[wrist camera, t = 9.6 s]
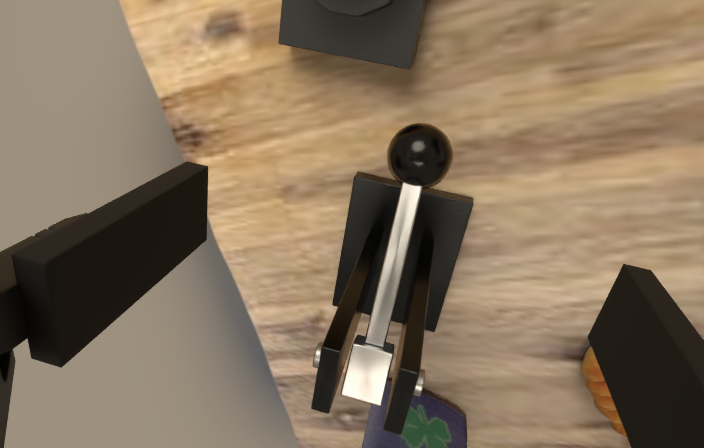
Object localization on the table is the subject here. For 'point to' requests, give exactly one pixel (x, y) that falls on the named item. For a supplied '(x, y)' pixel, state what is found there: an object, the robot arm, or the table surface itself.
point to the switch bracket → (413, 293)
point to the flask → (418, 424)
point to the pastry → (600, 390)
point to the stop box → (355, 28)
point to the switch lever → (396, 254)
